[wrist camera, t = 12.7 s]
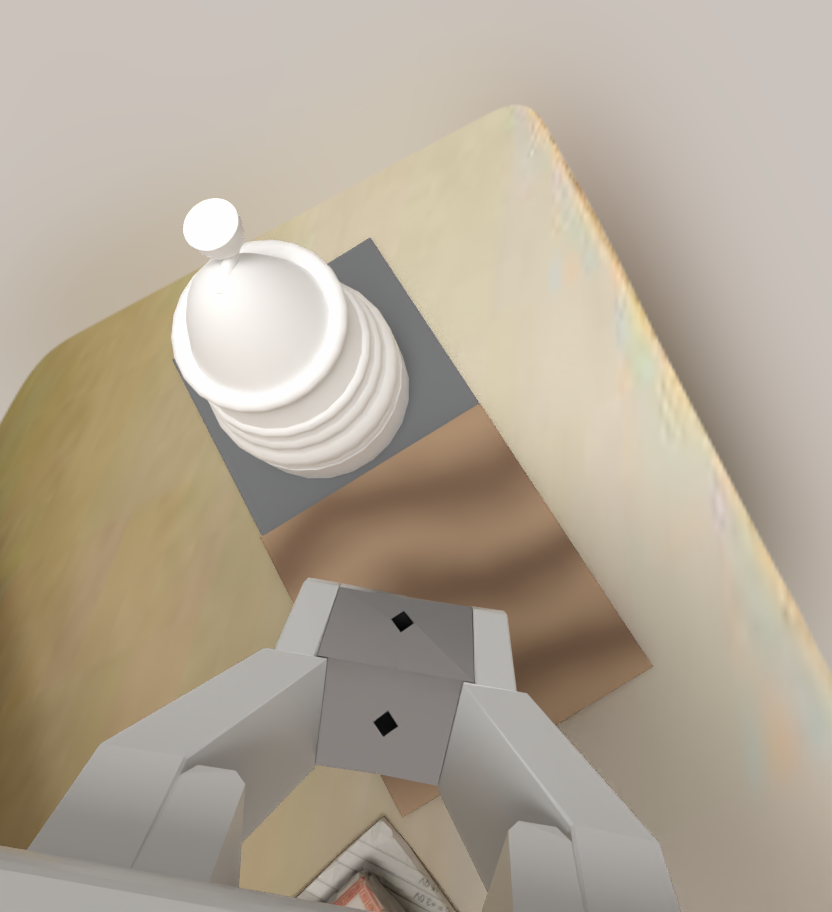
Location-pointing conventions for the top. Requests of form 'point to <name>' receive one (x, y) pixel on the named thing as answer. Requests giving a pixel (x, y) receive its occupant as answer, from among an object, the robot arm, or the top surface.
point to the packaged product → (378, 877)
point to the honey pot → (286, 351)
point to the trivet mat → (429, 408)
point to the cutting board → (468, 564)
